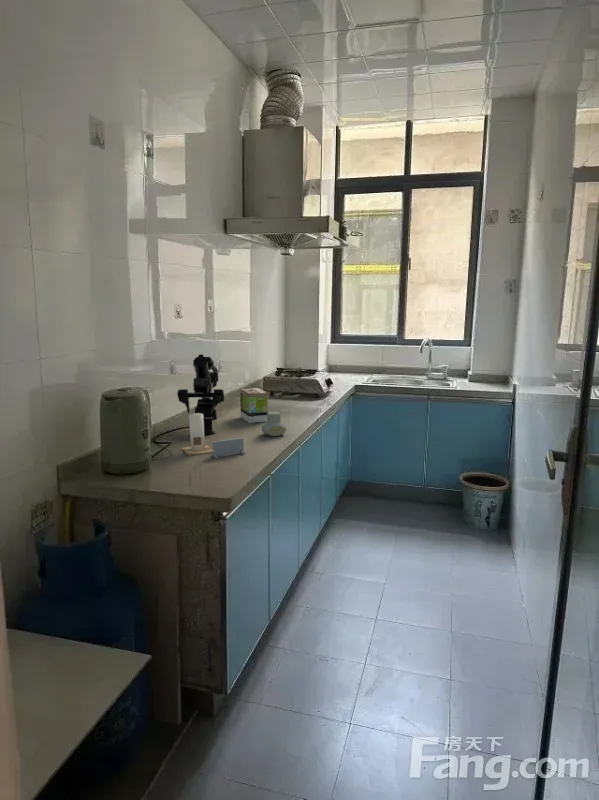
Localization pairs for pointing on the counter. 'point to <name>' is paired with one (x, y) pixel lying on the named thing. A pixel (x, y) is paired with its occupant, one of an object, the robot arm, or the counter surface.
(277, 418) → the air freshener
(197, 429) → the canister
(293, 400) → the counter surface
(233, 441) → the screen
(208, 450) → the mat
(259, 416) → the tea box
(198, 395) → the robot arm
